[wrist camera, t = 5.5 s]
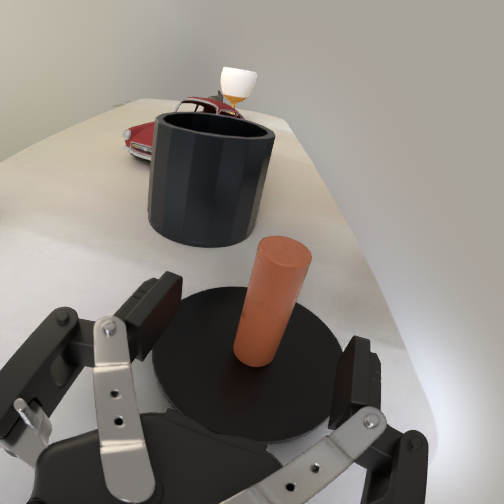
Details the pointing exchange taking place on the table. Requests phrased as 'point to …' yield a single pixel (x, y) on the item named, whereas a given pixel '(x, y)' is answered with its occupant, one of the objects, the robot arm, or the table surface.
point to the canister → (207, 177)
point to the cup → (237, 84)
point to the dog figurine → (217, 98)
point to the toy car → (142, 135)
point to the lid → (251, 353)
